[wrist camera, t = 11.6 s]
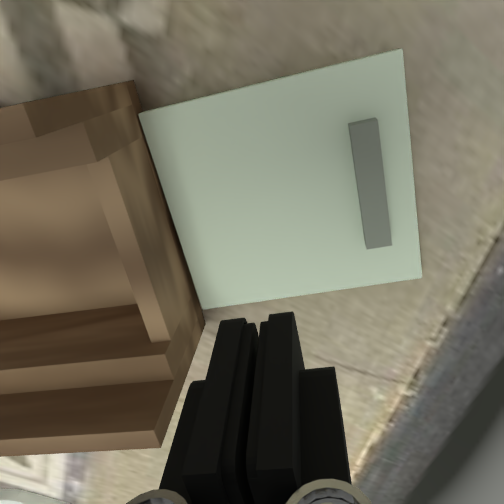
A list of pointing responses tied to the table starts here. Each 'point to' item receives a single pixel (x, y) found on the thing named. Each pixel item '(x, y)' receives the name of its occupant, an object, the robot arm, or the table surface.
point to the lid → (292, 182)
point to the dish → (25, 497)
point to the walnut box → (88, 280)
